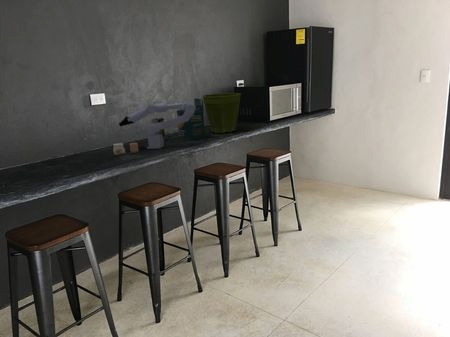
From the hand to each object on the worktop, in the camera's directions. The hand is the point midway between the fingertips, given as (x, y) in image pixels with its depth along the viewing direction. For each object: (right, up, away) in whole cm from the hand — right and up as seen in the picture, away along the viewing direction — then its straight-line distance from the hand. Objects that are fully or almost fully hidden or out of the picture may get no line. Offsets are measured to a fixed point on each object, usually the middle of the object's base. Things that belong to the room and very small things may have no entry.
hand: (121, 124), depth 246 cm
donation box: (+43, -7, +30) cm, 53 cm away
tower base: (+1, -19, -7) cm, 20 cm away
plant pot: (+67, 0, +52) cm, 84 cm away
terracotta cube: (+9, -17, -4) cm, 20 cm away
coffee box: (+20, -9, +27) cm, 35 cm away
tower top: (+1, -16, -8) cm, 18 cm away
